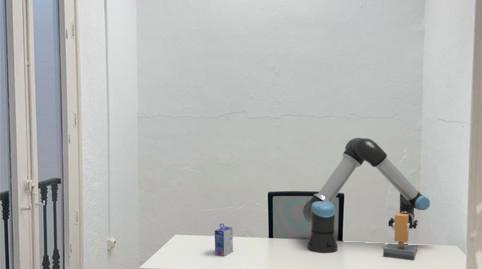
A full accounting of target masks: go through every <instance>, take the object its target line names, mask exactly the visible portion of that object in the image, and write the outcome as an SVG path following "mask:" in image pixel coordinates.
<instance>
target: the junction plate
mask: <svg viewBox="0 0 482 269" xmlns="http://www.w3.org/2000/svg"><path fill="white" fill-rule="evenodd" d="M417 251H418V246H415V245H408V244H407V245H406V244H405V242H398V243H387V245H386V246H385V247H383V248H382V257H385V258H394V259H402V260H408V261H410V260H411V261H414V260H415V257H416V255H417Z"/></svg>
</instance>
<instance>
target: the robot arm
mask: <svg viewBox="0 0 482 269" xmlns="http://www.w3.org/2000/svg"><path fill="white" fill-rule="evenodd" d="M344 148H345V150H344V151H343V152H342V159H341V161H340V162H339V163H338V165H337V166H336V168H334V170H333V172H332V173H331V175H330V176H329V177H328V178H327V180H326V182H325V183H324V185H323V187H321V189H320V190H319V192H318V193H314V194H313V195H312V197H311V198H310V199H309V200H307V201H306V202H304V204H303V206H302V210H301V211H302V215H303V217H304V218H305V219H306V220H307V222H309V223H311V229H310V230H311V233H310V236H309V239H308V241H307V249H308V250H309V251H311V252H316V253H335V252H337V251H338V242H337V239H336V235H335V222H336V220H335V215H336V209H335V206H334V204H333V202H334V200H335V198H336V197H337V196H338V194H339V192H340V191H341V190H342V188H343V187H344V185H345V184H346V183H347V181H348V179H350V177H351V176H352V174H353V172H355V170H356V168H358V167H361V166H362V165H363V163H365V162H367V163H368V164H369V165H370V166H371V167H373V168H376V169H377V170H378V172H380V173H381V175H383V176H384V177H385V179H387V181H388V182H389V183H390V184H391V185H392V186H393V187H394V188H395V189H396V190H397V191H398V193H399V214H409V223H408V225H407V231H408V232H409V231H410V230H412V229H414V230H417V226H418V223H419V222H418V220H417V219H415V209H416V210H418V211H426V210H428V208H429V207H430V205H431V202H430V199H429V198H428V197H426V196H425V195H423V194H422V193H421V192H420V191H418V189H417V188H416V187H415V186H414V185H413V184H412V183H411V182H410V181H409V179H407V177H405V175H404V174H403V173H402V172H401V171H400V170H399V169H398V168H397V167H396V166H395V165H394V163H393V162H392V161H391V160H390V159H389V158H388V154H387V153H386V152H385V151H384V149H382V147H381V146H380V145H378V143H376V142H375V141H374V140H373V139H371V138H361V137H355V138H352V139H350V140H348V141H347V143H346V145H345V147H344ZM414 219H415V220H414ZM387 224H388V227H391V229H392V230H393V231H395V218H393V217H390V219H389V220H388V223H387Z"/></svg>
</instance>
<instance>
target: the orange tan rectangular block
mask: <svg viewBox="0 0 482 269" xmlns="http://www.w3.org/2000/svg"><path fill="white" fill-rule="evenodd" d="M394 220H395V229H394V242H404V243H408V241H409V231H407V225H408V223H409V214H400V213H395V214H394Z"/></svg>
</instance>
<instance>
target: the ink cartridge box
mask: <svg viewBox="0 0 482 269" xmlns="http://www.w3.org/2000/svg"><path fill="white" fill-rule="evenodd" d="M218 225H219V227H220V228H218V229H215V230H214V255H215V256H219V257H226V256H227V255H229V254H231V253H232V252H234V249H233V248H234V236H233V235H234V232H233V230H234V228H233V226H225V224H224V223H223V222H222V223H219V224H218Z"/></svg>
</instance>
